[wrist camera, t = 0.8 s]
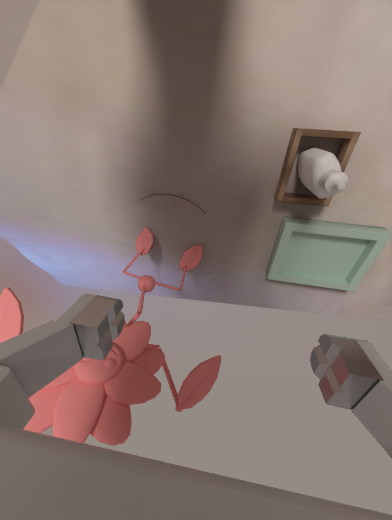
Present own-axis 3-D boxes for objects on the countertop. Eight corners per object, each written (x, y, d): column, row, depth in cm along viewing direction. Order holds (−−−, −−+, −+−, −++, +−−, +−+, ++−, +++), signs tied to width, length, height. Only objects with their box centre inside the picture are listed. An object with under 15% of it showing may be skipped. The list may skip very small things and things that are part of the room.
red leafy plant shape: (219, 277, 47) (193, 511, 18) (115, 238, 46) (-89, 420, 17) (249, 220, 38) (292, 492, 9) (123, 171, 37) (-268, 306, 8)
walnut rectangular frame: (293, 128, 29) (297, 128, 27) (352, 131, 28) (360, 132, 26) (274, 196, 35) (276, 201, 33) (322, 201, 34) (328, 206, 32)
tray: (266, 272, 44) (267, 279, 42) (283, 216, 37) (286, 222, 35) (347, 283, 42) (353, 291, 40) (383, 227, 35) (392, 233, 33)
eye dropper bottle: (289, 184, 33) (310, 208, 24) (301, 146, 30) (332, 155, 20) (315, 187, 33) (349, 213, 23) (331, 149, 30) (378, 160, 20)
